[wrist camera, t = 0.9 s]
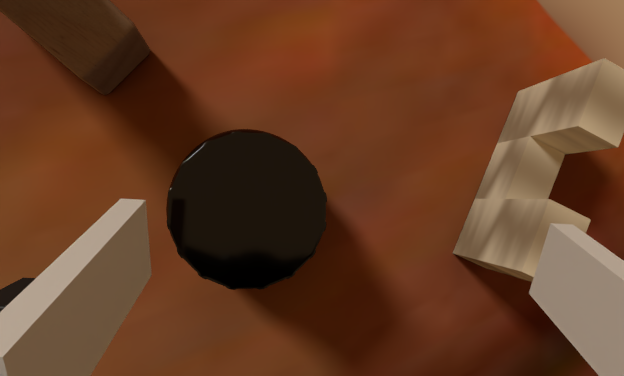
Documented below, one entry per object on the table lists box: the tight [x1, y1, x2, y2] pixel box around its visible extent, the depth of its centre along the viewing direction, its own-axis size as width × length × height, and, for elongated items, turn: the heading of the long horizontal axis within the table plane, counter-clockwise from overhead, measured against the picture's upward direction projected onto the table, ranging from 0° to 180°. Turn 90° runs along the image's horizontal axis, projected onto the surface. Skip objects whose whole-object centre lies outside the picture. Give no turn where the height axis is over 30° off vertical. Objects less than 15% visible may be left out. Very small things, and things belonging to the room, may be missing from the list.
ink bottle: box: [166, 129, 327, 290], centre depth 23 cm, size 10×9×12 cm
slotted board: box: [453, 58, 624, 282], centre depth 29 cm, size 14×3×8 cm, turn 156°
